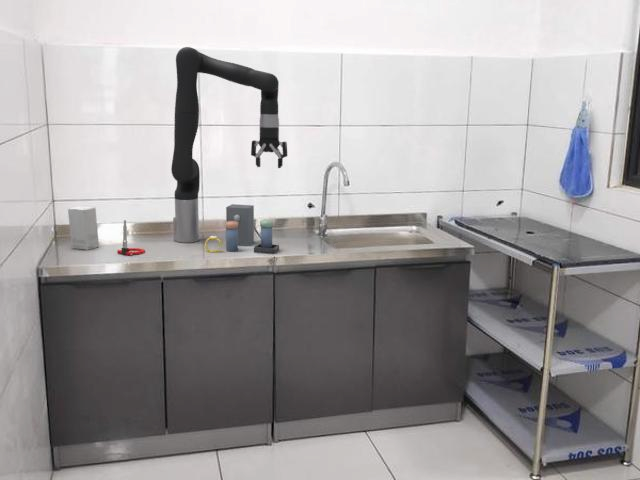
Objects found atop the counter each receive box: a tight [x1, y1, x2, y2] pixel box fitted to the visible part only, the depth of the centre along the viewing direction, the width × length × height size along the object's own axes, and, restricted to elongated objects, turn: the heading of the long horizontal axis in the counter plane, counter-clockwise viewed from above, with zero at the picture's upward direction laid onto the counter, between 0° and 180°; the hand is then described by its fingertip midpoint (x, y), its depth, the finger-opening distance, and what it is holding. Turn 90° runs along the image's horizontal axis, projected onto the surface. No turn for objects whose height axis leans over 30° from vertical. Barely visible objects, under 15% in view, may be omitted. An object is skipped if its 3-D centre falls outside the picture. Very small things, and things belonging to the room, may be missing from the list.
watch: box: [204, 235, 222, 253], centre depth 249 cm, size 6×3×6 cm, turn 92°
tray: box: [253, 243, 280, 255], centre depth 252 cm, size 8×7×2 cm
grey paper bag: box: [67, 205, 100, 251], centre depth 251 cm, size 8×7×16 cm
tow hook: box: [116, 219, 146, 257], centre depth 245 cm, size 8×13×9 cm
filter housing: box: [225, 203, 255, 247], centre depth 263 cm, size 9×8×15 cm
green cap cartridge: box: [259, 219, 274, 248], centre depth 251 cm, size 5×5×11 cm
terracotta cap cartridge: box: [224, 221, 239, 253], centre depth 251 cm, size 5×5×11 cm
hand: (269, 167), depth 262 cm, fingers open, 8 cm apart
